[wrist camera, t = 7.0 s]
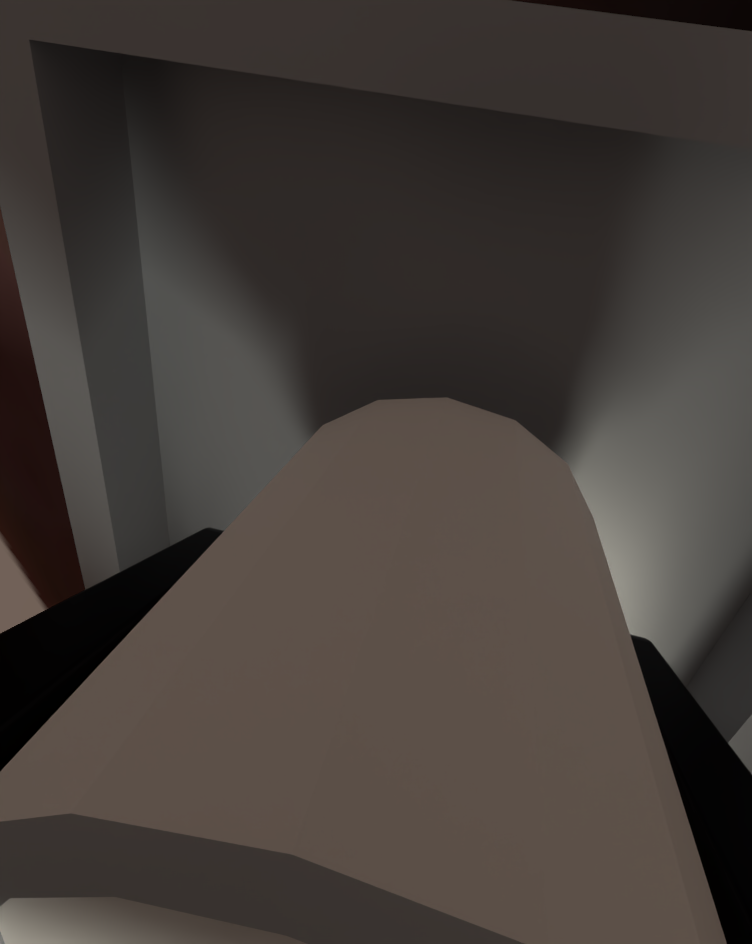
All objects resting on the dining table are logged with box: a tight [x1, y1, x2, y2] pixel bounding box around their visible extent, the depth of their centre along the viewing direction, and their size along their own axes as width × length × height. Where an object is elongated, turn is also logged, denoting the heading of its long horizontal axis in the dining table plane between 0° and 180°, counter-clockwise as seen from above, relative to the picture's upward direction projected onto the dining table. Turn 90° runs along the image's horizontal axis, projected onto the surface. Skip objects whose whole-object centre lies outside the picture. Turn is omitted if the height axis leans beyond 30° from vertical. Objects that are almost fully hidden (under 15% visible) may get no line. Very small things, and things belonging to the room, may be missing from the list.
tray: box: [0, 0, 752, 774], centre depth 12 cm, size 15×15×3 cm
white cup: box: [0, 397, 727, 944], centre depth 8 cm, size 7×7×7 cm
